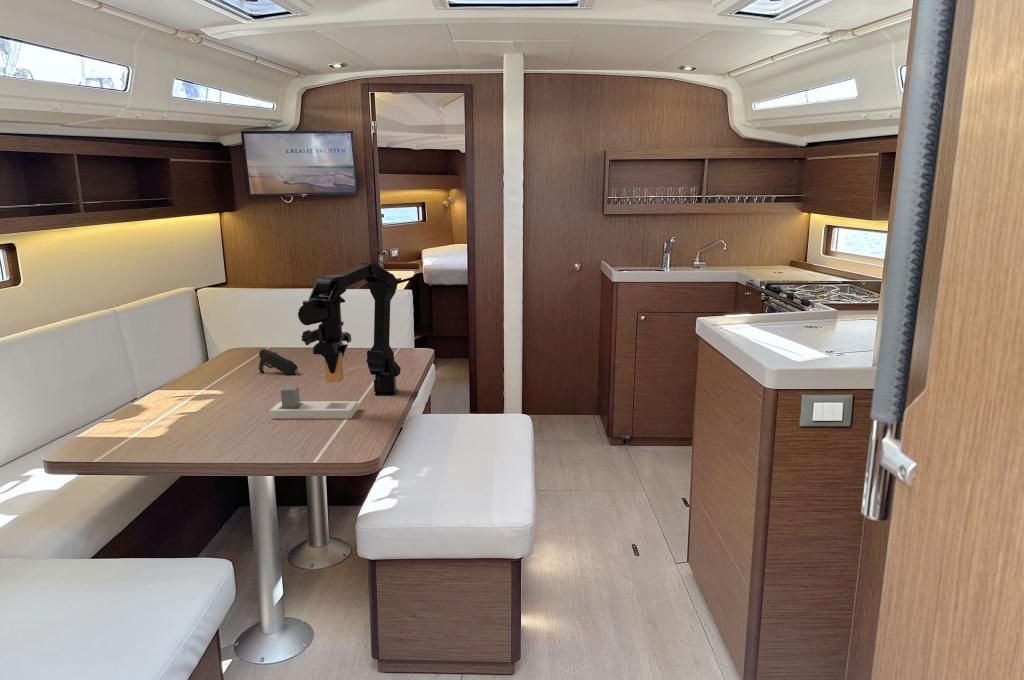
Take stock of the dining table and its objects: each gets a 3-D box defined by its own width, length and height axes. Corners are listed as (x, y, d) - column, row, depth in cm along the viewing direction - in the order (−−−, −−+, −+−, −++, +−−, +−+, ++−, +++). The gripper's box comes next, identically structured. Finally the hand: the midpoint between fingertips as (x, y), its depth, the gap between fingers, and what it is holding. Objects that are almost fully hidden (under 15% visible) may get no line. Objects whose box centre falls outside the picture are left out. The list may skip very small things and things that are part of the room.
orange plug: (343, 378, 207) (341, 352, 205) (339, 382, 203) (338, 355, 201) (330, 378, 207) (328, 352, 205) (326, 382, 203) (324, 355, 201)
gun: (289, 390, 253) (298, 367, 250) (251, 369, 254) (261, 346, 251) (293, 388, 256) (302, 365, 253) (256, 367, 257) (265, 344, 254)
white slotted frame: (358, 409, 211) (357, 401, 210) (350, 418, 202) (350, 410, 202) (280, 409, 212) (280, 401, 211) (269, 418, 203) (269, 410, 202)
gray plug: (300, 411, 209) (298, 386, 207) (296, 415, 205) (294, 390, 204) (287, 411, 209) (285, 386, 208) (283, 416, 205) (280, 390, 204)
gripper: (314, 314, 211) (317, 363, 214) (292, 325, 192) (297, 379, 196) (350, 314, 210) (353, 363, 213) (332, 325, 192) (335, 379, 195)
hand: (334, 371), depth 204 cm, fingers closed on orange plug, 4 cm apart
